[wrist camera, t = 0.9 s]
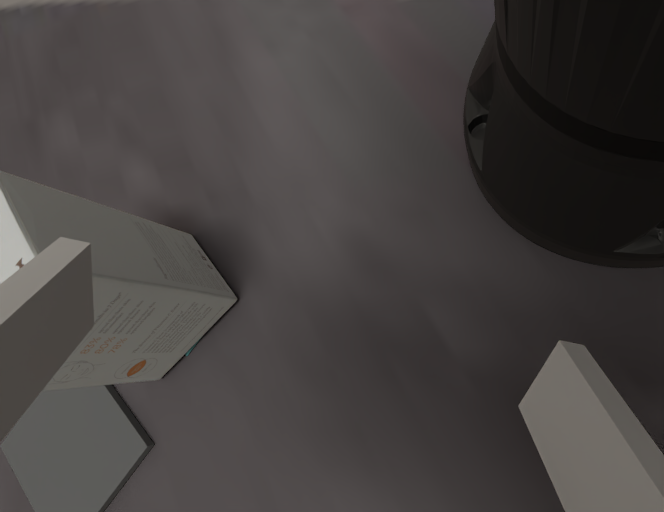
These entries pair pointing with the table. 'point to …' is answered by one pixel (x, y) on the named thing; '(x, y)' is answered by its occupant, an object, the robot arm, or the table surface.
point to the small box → (117, 282)
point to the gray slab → (75, 449)
